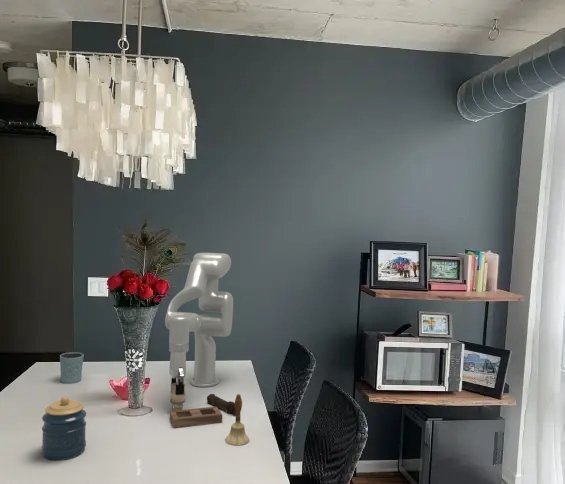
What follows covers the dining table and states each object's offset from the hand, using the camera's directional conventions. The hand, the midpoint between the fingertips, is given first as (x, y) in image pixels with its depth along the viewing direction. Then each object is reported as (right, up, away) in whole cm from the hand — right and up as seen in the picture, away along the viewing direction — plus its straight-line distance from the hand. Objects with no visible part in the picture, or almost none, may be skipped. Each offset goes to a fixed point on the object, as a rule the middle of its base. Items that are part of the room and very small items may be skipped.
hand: (177, 390), depth 203 cm
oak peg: (0, -8, +1) cm, 8 cm away
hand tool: (+18, -9, +4) cm, 20 cm away
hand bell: (+26, -10, -25) cm, 37 cm away
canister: (-28, -9, -38) cm, 48 cm away
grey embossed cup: (-55, -5, +32) cm, 64 cm away
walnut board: (+9, -9, -10) cm, 15 cm away
